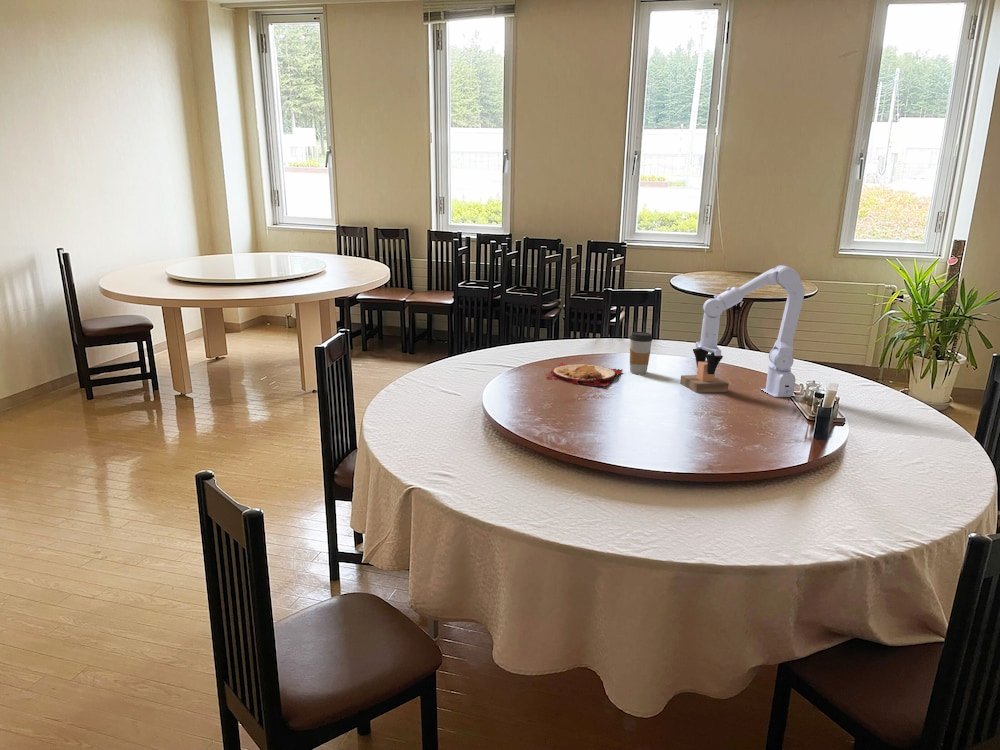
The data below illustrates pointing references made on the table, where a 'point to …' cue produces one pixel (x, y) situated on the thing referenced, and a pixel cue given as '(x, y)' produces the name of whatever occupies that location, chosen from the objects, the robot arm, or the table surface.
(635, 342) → the coffee cup
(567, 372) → the plate with food
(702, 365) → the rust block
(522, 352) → the table surface
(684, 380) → the walnut stand
